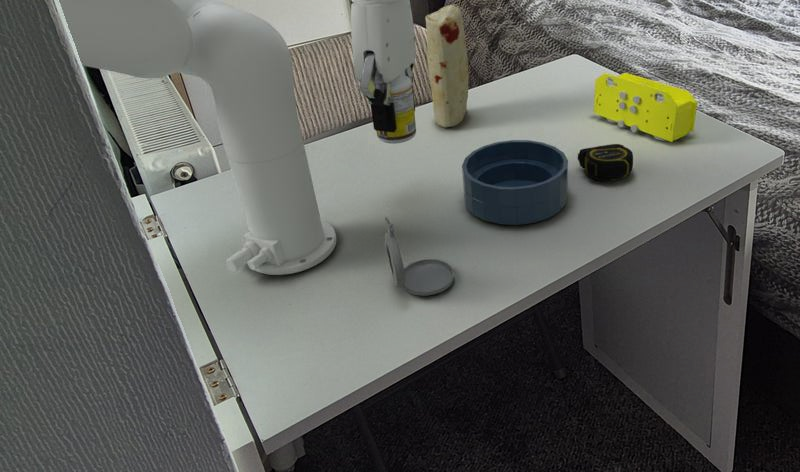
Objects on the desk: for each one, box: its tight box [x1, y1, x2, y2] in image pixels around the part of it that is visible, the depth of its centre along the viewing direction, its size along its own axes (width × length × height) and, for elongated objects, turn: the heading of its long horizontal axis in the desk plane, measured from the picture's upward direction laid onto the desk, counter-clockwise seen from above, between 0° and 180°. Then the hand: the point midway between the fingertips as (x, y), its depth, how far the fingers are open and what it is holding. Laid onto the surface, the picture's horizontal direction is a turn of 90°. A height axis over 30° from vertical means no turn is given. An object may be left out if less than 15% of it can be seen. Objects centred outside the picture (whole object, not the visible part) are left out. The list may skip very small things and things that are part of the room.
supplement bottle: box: [375, 71, 417, 145], centre depth 89 cm, size 6×6×10 cm
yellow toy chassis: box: [593, 72, 698, 143], centre depth 105 cm, size 16×6×8 cm, turn 32°
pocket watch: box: [384, 216, 455, 297], centre depth 77 cm, size 8×8×10 cm
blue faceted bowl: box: [461, 139, 569, 226], centre depth 91 cm, size 14×14×6 cm
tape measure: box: [577, 143, 634, 181], centre depth 95 cm, size 7×7×4 cm
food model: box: [425, 4, 469, 129], centre depth 113 cm, size 10×7×20 cm
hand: (395, 120), depth 90 cm, fingers closed on supplement bottle, 5 cm apart
